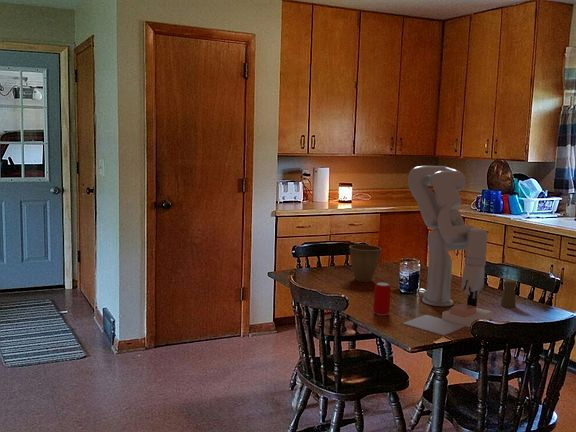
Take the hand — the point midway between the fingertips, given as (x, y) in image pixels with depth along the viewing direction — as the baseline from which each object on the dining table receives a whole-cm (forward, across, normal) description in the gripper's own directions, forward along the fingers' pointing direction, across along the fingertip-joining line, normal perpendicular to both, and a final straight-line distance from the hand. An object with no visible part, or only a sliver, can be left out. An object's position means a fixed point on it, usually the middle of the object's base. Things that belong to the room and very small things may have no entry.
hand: (471, 307), depth 235 cm
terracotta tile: (+1, +6, 0) cm, 6 cm away
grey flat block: (+4, +3, 0) cm, 5 cm away
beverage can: (+4, +23, -26) cm, 35 cm away
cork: (+4, -28, +3) cm, 28 cm away
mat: (+4, +19, -5) cm, 20 cm away
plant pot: (+4, -16, -62) cm, 65 cm away
